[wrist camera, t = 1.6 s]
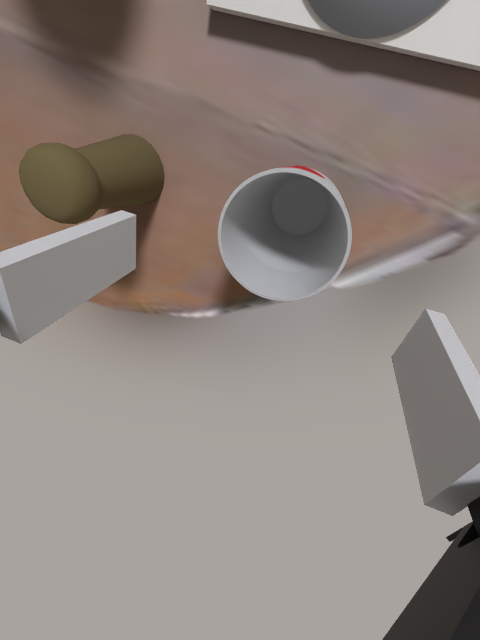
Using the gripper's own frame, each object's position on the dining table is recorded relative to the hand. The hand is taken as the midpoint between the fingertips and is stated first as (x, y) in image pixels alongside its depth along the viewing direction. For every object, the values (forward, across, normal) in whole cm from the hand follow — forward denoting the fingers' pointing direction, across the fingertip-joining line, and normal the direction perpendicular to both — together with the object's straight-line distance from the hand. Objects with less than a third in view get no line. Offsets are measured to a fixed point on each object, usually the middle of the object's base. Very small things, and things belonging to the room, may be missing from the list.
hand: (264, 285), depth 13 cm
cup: (+16, 0, 0) cm, 16 cm away
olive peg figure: (+16, -16, -1) cm, 23 cm away
